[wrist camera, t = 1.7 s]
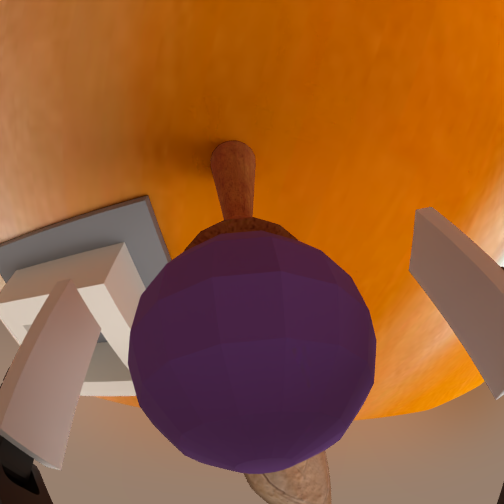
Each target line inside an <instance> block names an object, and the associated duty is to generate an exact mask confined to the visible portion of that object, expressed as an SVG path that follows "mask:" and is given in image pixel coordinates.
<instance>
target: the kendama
mask: <svg viewBox="0 0 504 504" xmlns="http://www.w3.org/2000/svg"><path fill="white" fill-rule="evenodd" d="M210 161H211V169H212V173H213V177H214V181H215V185H216V189H217V193H218V197H219V201H220V205H221V209H222V213H223V217H224V221H221V222H219V223H217V224H215V225H213V226H211V227H209V228H207V229H205V230H203V231H201V232H200V233H199V234H198V235H197V236H196V237H195V239H194V240H193V241H192V242H191V243H190V244H189V245H188V247H187V248H186V249H185V251H184V252H183V253H182V254H180V255H179V256H177V257H176V258H174V259H173V260H172V261H170V262H169V263H167V264H166V265H165V266H164V268H163V269H162V270H161V271H160V272H159V274H158V275H157V276H156V277H155V279H154V280H153V281H152V282H151V283H150V285H149V286H148V287H147V288H146V290H145V291H144V292H143V293H142V295H141V296H140V300H139V303H138V306H137V310H136V313H135V317H134V320H133V324H132V327H131V331H130V339H129V352H128V367H129V371H130V374H131V378H132V382H133V385H134V389H135V392H136V396H137V399H138V402H139V405H140V407H141V408H142V410H143V411H144V413H145V414H146V415H147V417H148V418H149V419H150V421H151V422H152V423H153V425H154V426H155V427H156V428H157V429H158V430H159V431H160V432H161V433H162V434H163V435H164V436H165V437H166V438H167V439H168V440H169V441H170V442H171V443H172V444H173V445H174V446H176V448H178V449H179V450H180V451H181V452H182V453H183V454H184V455H185V456H188V457H190V458H192V459H195V460H197V461H199V462H201V463H204V464H208V465H211V466H215V467H219V468H223V469H227V470H231V471H236V472H240V473H247V474H264V473H272V472H277V471H281V470H284V469H287V468H290V467H292V466H294V465H296V464H299V463H301V462H303V461H305V460H307V459H309V458H311V457H313V456H315V455H317V454H319V453H321V452H323V451H325V450H326V449H327V448H329V447H330V446H332V445H333V444H335V443H336V442H337V441H339V440H340V439H341V437H342V436H343V435H344V433H345V432H346V430H347V429H348V427H349V426H350V424H351V423H352V421H353V420H354V418H355V417H356V415H357V413H358V412H359V410H360V409H361V407H362V405H363V404H364V402H365V400H366V398H367V396H368V394H369V392H370V390H371V388H372V386H373V384H374V373H375V357H376V337H375V333H374V329H373V325H372V320H371V316H370V312H369V310H368V308H367V306H366V304H365V302H364V300H363V298H362V296H361V295H360V293H359V291H358V289H357V287H356V285H355V283H354V282H353V280H352V278H351V277H350V276H349V275H348V274H347V273H346V272H345V271H344V270H343V269H341V268H340V267H339V266H338V265H337V264H336V263H335V262H334V261H332V260H331V259H330V258H329V257H328V256H327V255H325V254H324V253H323V252H322V251H321V250H318V249H316V248H314V247H312V246H309V245H307V244H305V243H302V242H300V241H298V240H297V239H296V238H295V237H294V236H293V235H291V234H290V233H289V232H288V231H286V230H285V229H284V228H283V227H282V226H280V225H278V224H275V223H272V222H268V221H265V220H261V219H258V218H254V217H252V214H253V197H254V180H255V155H254V153H253V151H252V149H251V148H250V147H248V146H247V145H246V144H245V143H242V142H239V141H227V142H225V143H223V144H221V145H219V146H218V147H217V148H216V149H215V150H214V152H213V154H212V157H211V160H210Z"/></svg>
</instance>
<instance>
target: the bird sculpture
mask: <svg viewBox="0 0 504 504" xmlns="http://www.w3.org/2000/svg"><path fill="white" fill-rule="evenodd" d="M244 475H245V477H246V479H247V482H248V483H249V485H250V487H251V488H252V489H253V490H254V491H255V492H256V494H258V495H259V496H260V497H261V498H262V499H263V500H265V501H266V502H267V503H269V504H331V486H330V475H329V467H328V462H327V458H326V452H325V451H323V452H321V453H319V454H317V455H315V456H313V457H311V458H309V459H307V460H305V461H303V462H301V463H299V464H296V465H294V466H292V467H290V468H287V469H284V470H281V471H277V472H272V473H264V474H247V473H244Z"/></svg>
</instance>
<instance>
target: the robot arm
mask: <svg viewBox="0 0 504 504" xmlns="http://www.w3.org/2000/svg"><path fill="white" fill-rule="evenodd" d="M409 271H410V273H411V274H412V275H413V276H414V278H415V279H416V280H417V282H418V283H419V284H420V286H421V287H422V288H423V289H424V291H425V292H426V293H427V295H428V296H429V297H430V299H431V300H432V302H433V303H434V304H435V306H436V307H437V308H438V310H439V311H440V313H441V314H442V315H443V317H444V318H445V320H446V321H447V323H448V324H449V325H450V327H451V328H452V330H453V331H454V333H455V334H456V336H457V337H458V339H459V340H460V342H461V343H462V345H463V346H464V348H465V349H466V351H467V353H468V354H469V356H470V357H471V359H472V360H473V362H474V364H475V365H476V367H477V369H478V370H479V372H480V374H481V375H482V377H483V379H484V380H485V382H486V384H487V386H488V387H489V389H490V391H491V393H492V394H493V396H494V398H495V400H497V399H498V398H500V397H501V396H503V395H504V267H500V266H499V265H498V264H497V263H496V262H495V261H494V260H493V259H492V258H491V257H490V256H488V255H487V254H486V253H485V252H484V251H483V250H482V249H481V248H480V247H479V246H478V245H477V244H475V243H474V242H473V241H472V240H471V239H470V238H469V237H468V236H466V235H465V234H464V233H463V232H462V231H461V230H459V229H458V228H457V227H456V226H455V225H453V224H452V223H451V222H450V221H449V220H447V219H446V218H445V217H444V216H443V215H441V214H440V213H439V212H437V211H436V210H435V209H434V208H432V207H428V208H423V209H417V210H416V213H415V224H414V234H413V243H412V251H411V259H410V266H409ZM100 332H101V327H100V326H99V324H98V323H97V321H96V320H95V318H94V316H93V315H92V313H91V312H90V310H89V308H88V307H87V305H86V304H85V302H84V300H83V299H82V297H81V295H80V293H79V292H78V290H77V288H76V286H75V285H74V283H73V281H72V279H67V280H62V281H58V282H57V283H56V285H55V286H54V288H53V289H52V291H51V293H50V294H49V296H48V297H47V299H46V301H45V302H44V304H43V306H42V307H41V309H40V311H39V313H38V314H37V316H36V318H35V320H34V321H33V323H32V325H31V327H30V329H29V330H28V332H27V334H26V336H25V338H24V340H23V342H22V344H21V346H20V348H19V350H18V352H17V354H16V356H15V358H14V360H13V362H12V364H11V366H10V367H9V369H8V371H7V373H6V375H5V377H4V379H3V383H2V384H1V386H0V504H53V502H52V500H51V498H50V496H49V494H48V491H47V489H46V486H45V484H44V482H43V479H42V477H41V474H40V471H39V470H38V468H37V466H35V465H34V464H33V460H34V459H35V460H36V461H38V462H40V463H41V464H43V465H44V466H47V467H50V468H54V469H57V470H62V464H63V459H64V455H65V450H66V446H67V441H68V437H69V433H70V429H71V425H72V421H73V417H74V413H75V410H76V406H77V403H78V399H79V396H80V392H81V389H82V386H83V382H84V379H85V376H86V373H87V370H88V367H89V364H90V361H91V358H92V355H93V352H94V349H95V346H96V343H97V340H98V338H99V335H100ZM497 504H504V483H503V487H502V490H501V493H500V496H499V499H498V502H497Z"/></svg>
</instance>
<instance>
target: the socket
mask: <svg viewBox="0 0 504 504" xmlns="http://www.w3.org/2000/svg"><path fill="white" fill-rule="evenodd" d="M170 261H172V260H171V258H170V255H169V253H168V250H167V247H166V245H165V242H164V239H163V237H162V234H161V231H160V228H159V226H158V223H157V220H156V217H155V214H154V211H153V208H152V206H151V203H150V200H149V197H148V196H144V197H140V198H137V199H133V200H129V201H126V202H122V203H119V204H115V205H112V206H109V207H105V208H102V209H99V210H95V211H92V212H89V213H86V214H83V215H80V216H77V217H73V218H70V219H67V220H64V221H61V222H58V223H56V224H53V225H50V226H47V227H44V228H41V229H39V230H36V231H33V232H30V233H28V234H25V235H22V236H20V237H17V238H14V239H12V240H9V241H7V242H4V243H2V244H0V274H1V276H2V278H3V279H4V281H5V283H6V285H5V286H4V287H3V289H2V290H1V292H0V319H1V320H2V322H3V323H4V324H5V326H6V327H7V328H8V330H9V331H10V332H11V334H12V335H13V336H14V337H15V339H16V340H17V341H18V342H19V344H20V345H21V344H22V342H23V340H24V338H25V336H26V334H27V332H28V330H29V329H30V327H31V325H32V323H33V321H34V320H35V318H36V316H37V314H38V313H39V311H40V309H41V307H42V306H43V304H44V302H45V301H46V299H47V297H48V296H49V294H50V293H51V291H52V289H53V288H54V286H55V285H56V283H57V282H58V281H62V280H67V279H72V281H73V283H74V285H75V286H76V288H77V290H78V292H79V293H80V295H81V297H82V299H83V300H84V302H85V304H86V305H87V307H88V308H89V310H90V312H91V313H92V315H93V316H94V318H95V320H96V321H97V323H98V324H99V326H100V327H101V332H100V335H99V338H98V340H97V343H96V346H95V349H94V352H93V355H92V358H91V361H90V364H89V367H88V370H87V373H86V376H85V379H84V382H83V386H82V389H81V392H80V396H136V392H135V389H134V385H133V382H132V378H131V374H130V371H129V367H128V352H129V339H130V331H131V327H132V324H133V320H134V317H135V313H136V310H137V306H138V303H139V300H140V296H141V295H142V293H143V292H144V291H145V290H146V288H147V287H148V286H149V285H150V283H151V282H152V281H153V280H154V279H155V277H156V276H157V275H158V274H159V272H160V271H161V270H162V269H163V268H164V266H165V265H166V264H167V263H169V262H170Z"/></svg>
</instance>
